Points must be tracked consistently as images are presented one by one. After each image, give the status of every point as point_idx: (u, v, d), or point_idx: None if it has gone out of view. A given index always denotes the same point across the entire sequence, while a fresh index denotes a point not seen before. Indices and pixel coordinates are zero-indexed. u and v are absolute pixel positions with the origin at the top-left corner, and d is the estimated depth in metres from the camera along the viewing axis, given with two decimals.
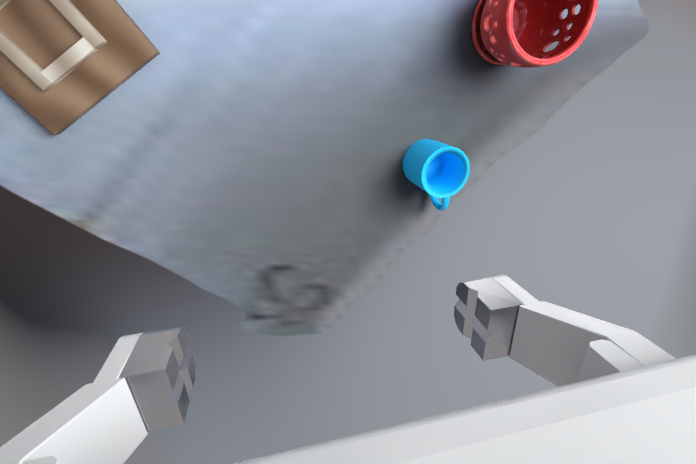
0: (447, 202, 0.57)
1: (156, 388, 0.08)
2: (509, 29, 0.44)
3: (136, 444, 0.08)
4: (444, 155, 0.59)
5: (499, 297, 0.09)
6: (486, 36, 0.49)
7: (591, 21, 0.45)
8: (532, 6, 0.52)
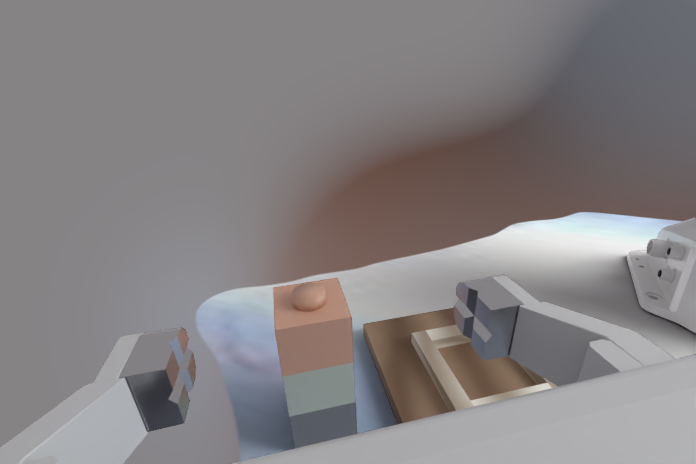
0: None
1: (156, 388, 0.08)
2: None
3: (136, 444, 0.08)
4: None
5: (498, 297, 0.09)
6: None
7: None
8: None
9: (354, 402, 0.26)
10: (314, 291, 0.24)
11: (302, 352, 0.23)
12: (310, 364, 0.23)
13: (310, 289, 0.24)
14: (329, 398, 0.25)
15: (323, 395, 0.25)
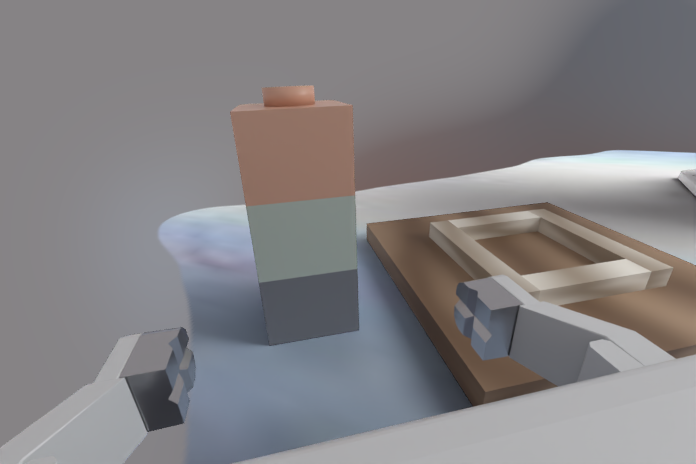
0: None
1: (156, 388, 0.08)
2: None
3: (136, 444, 0.08)
4: None
5: (498, 297, 0.09)
6: None
7: None
8: None
9: (355, 269, 0.18)
10: None
11: (277, 164, 0.15)
12: (289, 189, 0.15)
13: (291, 86, 0.16)
14: (318, 257, 0.17)
15: (309, 250, 0.17)
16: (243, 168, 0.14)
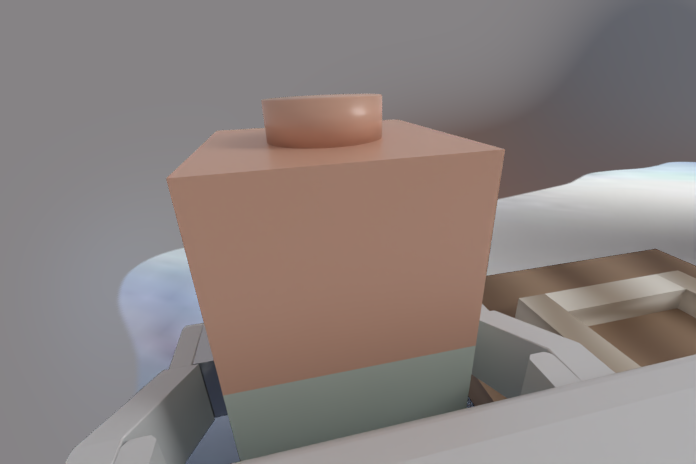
0: None
1: None
2: None
3: (206, 429, 0.08)
4: None
5: None
6: None
7: None
8: None
9: None
10: (343, 96, 0.07)
11: (301, 300, 0.06)
12: (329, 350, 0.06)
13: (328, 96, 0.07)
14: None
15: None
16: (213, 317, 0.05)
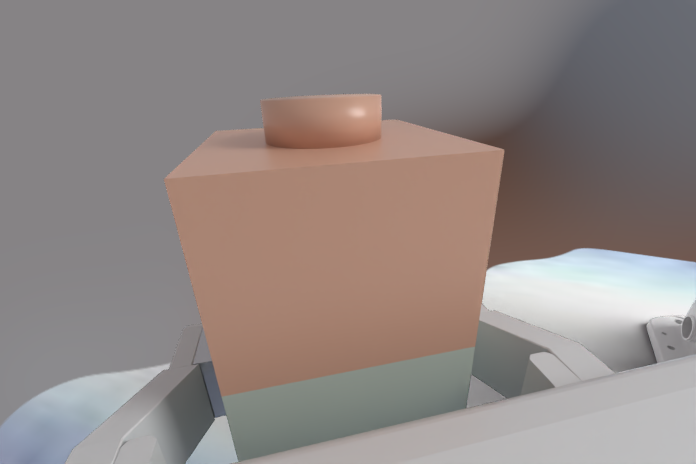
0: None
1: None
2: None
3: (206, 429, 0.08)
4: None
5: None
6: None
7: None
8: None
9: None
10: (342, 95, 0.07)
11: (299, 301, 0.06)
12: (328, 351, 0.06)
13: (327, 96, 0.07)
14: None
15: None
16: (211, 318, 0.05)
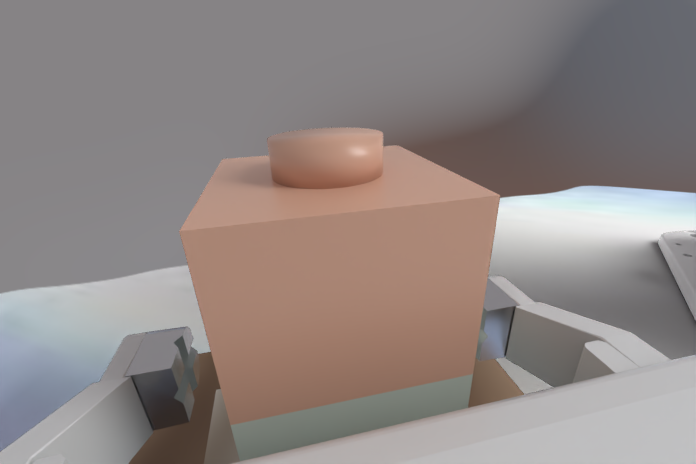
0: None
1: (162, 387, 0.08)
2: None
3: (142, 443, 0.08)
4: None
5: (494, 298, 0.09)
6: None
7: None
8: None
9: None
10: (346, 134, 0.07)
11: (305, 336, 0.06)
12: (332, 381, 0.07)
13: (331, 133, 0.07)
14: None
15: None
16: (221, 354, 0.06)
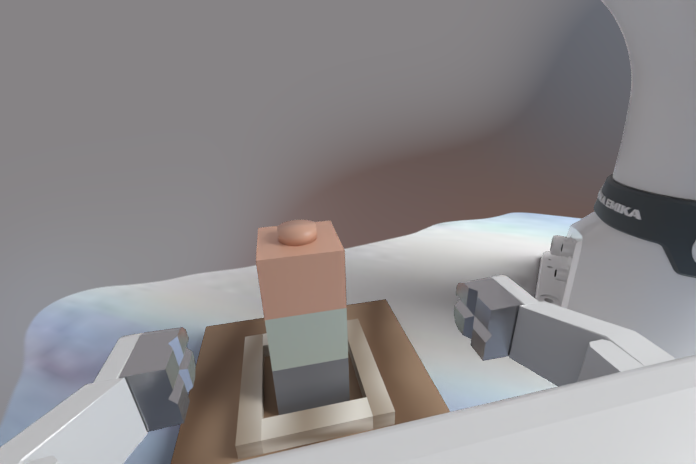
0: None
1: (156, 388, 0.08)
2: None
3: (136, 444, 0.08)
4: None
5: (498, 297, 0.09)
6: None
7: None
8: None
9: (347, 358, 0.23)
10: (303, 225, 0.21)
11: (288, 291, 0.20)
12: (297, 307, 0.20)
13: (298, 224, 0.21)
14: (318, 351, 0.22)
15: (311, 347, 0.22)
16: (263, 295, 0.20)
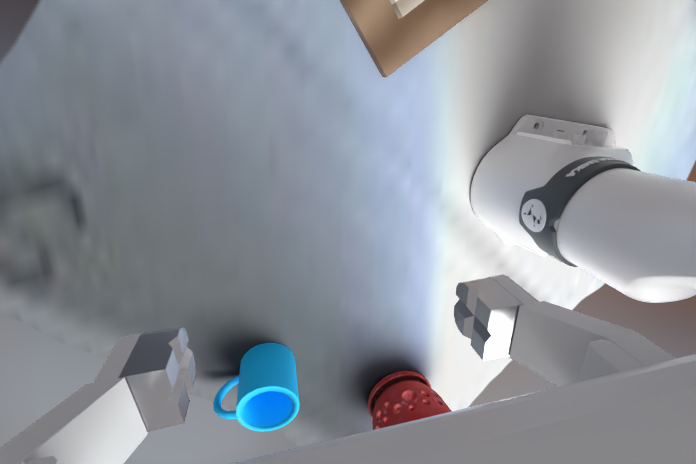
0: (228, 418, 0.45)
1: (156, 388, 0.08)
2: None
3: (136, 444, 0.08)
4: None
5: (498, 297, 0.09)
6: (397, 397, 0.52)
7: None
8: None
9: None
10: None
11: None
12: None
13: None
14: None
15: None
16: None
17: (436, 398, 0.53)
